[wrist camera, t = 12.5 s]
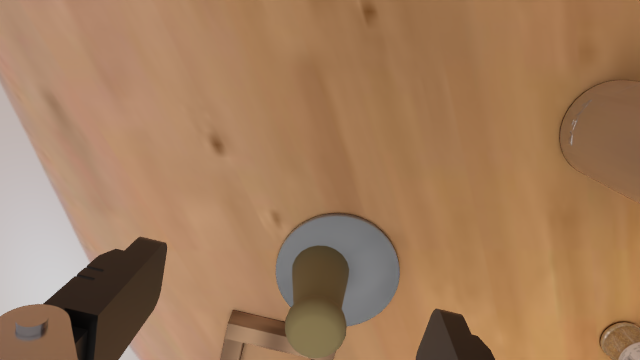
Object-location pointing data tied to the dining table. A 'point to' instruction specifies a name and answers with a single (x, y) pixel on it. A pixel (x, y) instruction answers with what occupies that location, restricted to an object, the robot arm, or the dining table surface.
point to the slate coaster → (361, 255)
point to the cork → (317, 302)
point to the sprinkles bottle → (622, 341)
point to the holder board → (256, 336)
